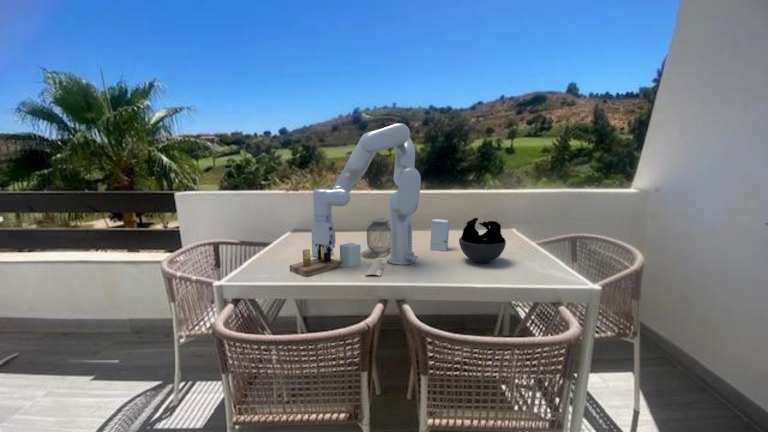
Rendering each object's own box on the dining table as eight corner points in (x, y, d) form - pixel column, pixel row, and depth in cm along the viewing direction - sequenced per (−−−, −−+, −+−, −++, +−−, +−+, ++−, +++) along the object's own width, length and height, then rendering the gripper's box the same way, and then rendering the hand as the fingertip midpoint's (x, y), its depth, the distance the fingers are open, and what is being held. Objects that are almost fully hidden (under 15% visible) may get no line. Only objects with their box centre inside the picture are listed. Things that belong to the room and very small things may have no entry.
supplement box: (311, 256, 183) (310, 230, 181) (321, 252, 189) (320, 227, 187) (324, 258, 180) (323, 231, 177) (333, 254, 186) (332, 228, 184)
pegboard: (341, 267, 166) (341, 246, 164) (306, 277, 153) (305, 254, 152) (324, 261, 174) (323, 242, 173) (289, 270, 161) (288, 249, 160)
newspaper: (374, 261, 176) (374, 257, 176) (390, 262, 175) (390, 258, 175) (365, 278, 153) (364, 273, 153) (382, 278, 152) (382, 274, 152)
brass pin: (324, 267, 165) (323, 246, 163) (320, 266, 167) (319, 245, 165) (330, 265, 167) (328, 245, 165) (325, 264, 169) (324, 244, 167)
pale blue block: (360, 263, 170) (360, 244, 169) (349, 267, 166) (349, 247, 164) (351, 261, 175) (350, 242, 173) (340, 264, 170) (339, 245, 169)
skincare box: (429, 249, 193) (430, 220, 191) (432, 247, 199) (433, 218, 196) (446, 251, 190) (447, 221, 188) (449, 248, 196) (449, 219, 194)
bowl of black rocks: (507, 269, 160) (509, 225, 157) (458, 267, 164) (459, 223, 161) (502, 256, 180) (504, 216, 176) (458, 254, 184) (459, 215, 180)
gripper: (342, 219, 160) (343, 262, 163) (318, 214, 172) (319, 255, 175) (328, 221, 155) (329, 265, 158) (304, 217, 166) (305, 258, 169)
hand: (324, 259), depth 166 cm, fingers open, 3 cm apart
